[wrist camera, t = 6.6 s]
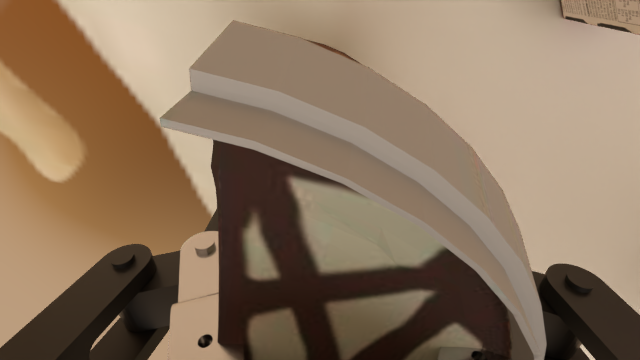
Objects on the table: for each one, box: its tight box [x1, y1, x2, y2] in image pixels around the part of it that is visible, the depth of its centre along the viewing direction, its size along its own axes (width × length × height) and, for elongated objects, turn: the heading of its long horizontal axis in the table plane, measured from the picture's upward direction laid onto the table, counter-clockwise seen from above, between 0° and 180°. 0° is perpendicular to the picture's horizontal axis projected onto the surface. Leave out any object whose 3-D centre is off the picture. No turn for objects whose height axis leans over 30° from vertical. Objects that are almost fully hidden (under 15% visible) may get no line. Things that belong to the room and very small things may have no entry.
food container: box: [160, 20, 547, 360], centre depth 10 cm, size 12×6×10 cm, turn 172°
